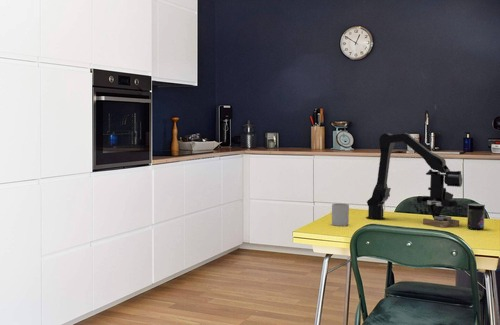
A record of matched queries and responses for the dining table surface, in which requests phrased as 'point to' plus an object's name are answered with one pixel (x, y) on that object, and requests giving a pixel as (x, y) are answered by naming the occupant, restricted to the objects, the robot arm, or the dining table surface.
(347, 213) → the cup
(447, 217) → the socket
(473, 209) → the supplement container
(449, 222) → the dock
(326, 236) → the dining table surface
